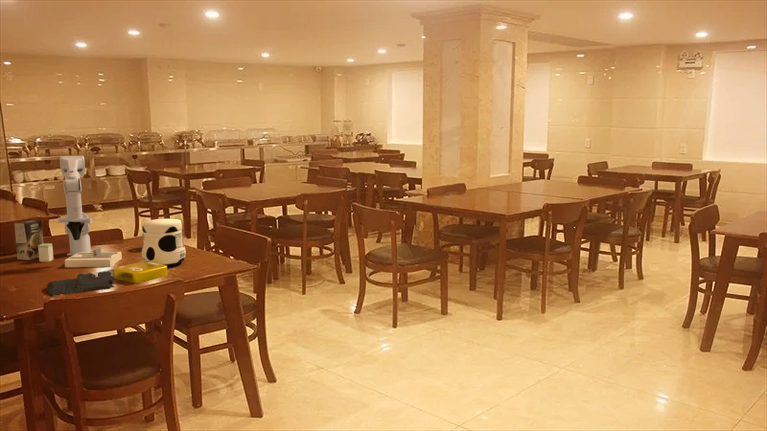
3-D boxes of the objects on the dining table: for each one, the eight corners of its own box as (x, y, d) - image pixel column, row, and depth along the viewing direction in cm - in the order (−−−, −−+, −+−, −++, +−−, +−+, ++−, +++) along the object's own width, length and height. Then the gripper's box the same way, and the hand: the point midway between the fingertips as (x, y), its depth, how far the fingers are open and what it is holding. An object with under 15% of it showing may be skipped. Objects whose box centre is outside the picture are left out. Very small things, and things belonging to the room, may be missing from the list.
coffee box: (29, 260, 266) (26, 223, 264) (17, 259, 268) (13, 222, 265) (45, 255, 275) (42, 219, 273) (32, 254, 277) (29, 219, 274)
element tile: (169, 276, 243) (169, 264, 242) (135, 285, 231) (135, 272, 230) (146, 270, 251) (145, 259, 251) (112, 279, 239) (111, 266, 238)
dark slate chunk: (46, 287, 228) (45, 274, 227) (111, 279, 239) (110, 267, 238) (47, 298, 215) (46, 284, 214) (116, 289, 225) (115, 276, 225)
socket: (78, 259, 268) (78, 251, 268) (121, 258, 270) (121, 250, 269) (65, 267, 255) (64, 259, 254) (110, 266, 256) (109, 258, 255)
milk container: (140, 261, 264) (137, 220, 261) (182, 257, 272) (180, 217, 269) (145, 271, 249) (142, 227, 246) (189, 266, 257) (187, 223, 254)
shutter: (98, 253, 265) (98, 247, 264) (114, 253, 266) (113, 246, 265) (92, 257, 259) (92, 250, 258) (109, 257, 259) (108, 250, 259)
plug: (43, 259, 268) (42, 243, 267) (53, 259, 268) (52, 243, 267) (39, 261, 264) (38, 245, 263) (49, 261, 265) (47, 245, 263)
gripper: (51, 208, 256) (54, 241, 258) (84, 209, 254) (87, 242, 256) (62, 206, 263) (65, 237, 265) (94, 207, 261) (97, 238, 263)
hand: (76, 239), depth 261 cm, fingers closed
